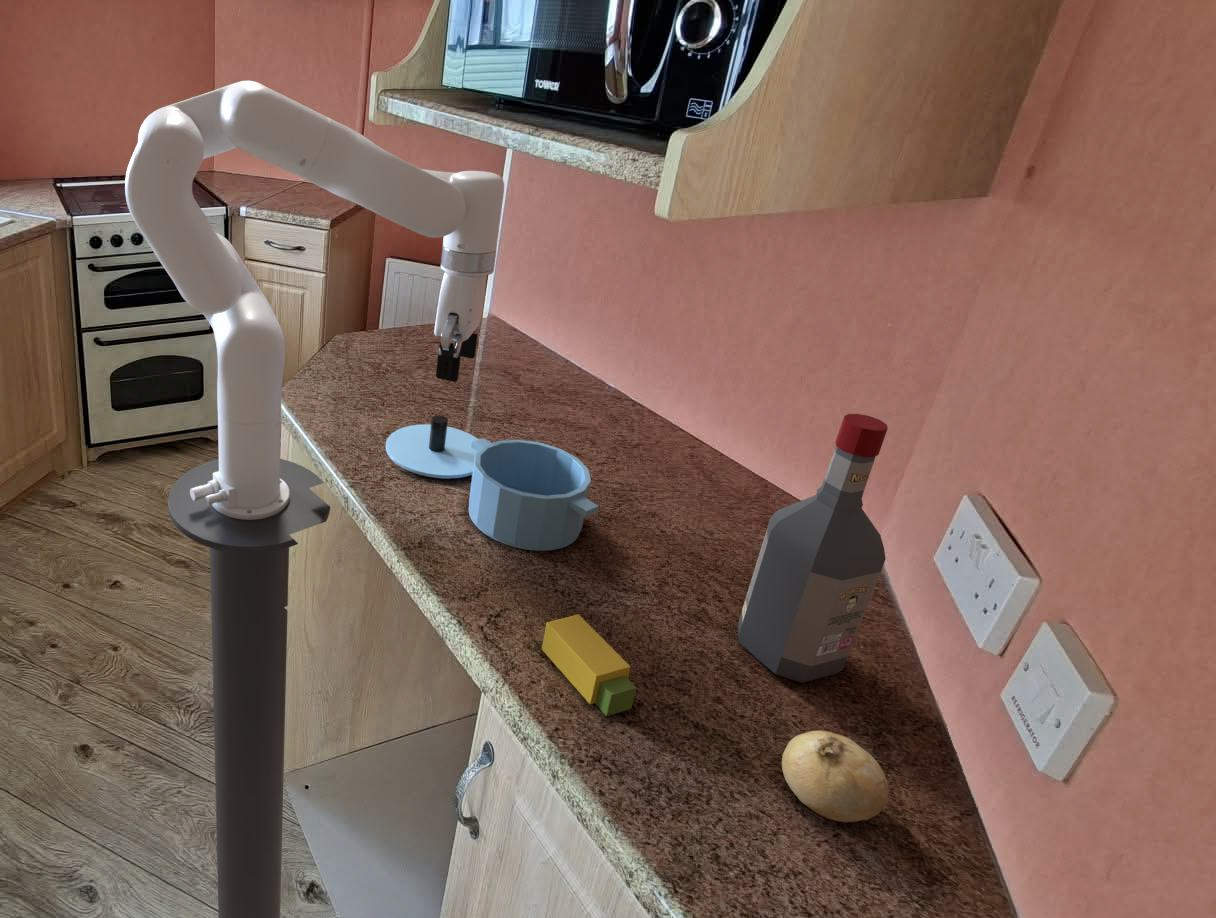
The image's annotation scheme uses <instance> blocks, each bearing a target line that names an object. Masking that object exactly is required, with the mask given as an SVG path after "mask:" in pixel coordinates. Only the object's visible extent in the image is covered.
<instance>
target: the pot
mask: <svg viewBox="0 0 1216 918" xmlns="http://www.w3.org/2000/svg"><path fill="white" fill-rule="evenodd" d="M478 439H479V440H476V441H473V442H472V445H471V447H472V448H473V449H475V450H476V451H478V452H477V453H476V454H475V459H474V467H473V474H472V475H471V484H470V491H469V498H468V514H469V518H470V520H471V521H472V523H473V524H474V525H475V527H476V528H477V529H478V530H479V531H481V533H483V534H485V535H486V536H488V537H489V538H491V539H492V540H495V541H497V542H499V543H501V544H503V545H506V546H509V547H512V548H516V549H522V550H527V551H534V552H535V551H536V552H537V551H539V552H543V551H544V552H547V551H556V550H559V549H563V548H565V547H567V546H569V545H571V544H573V543H574V542H576V540H577V539H578V538H579V535H580V533H581V531H582V529H583V524H584V519H585V518H588V517H590V516H592V515H594V514H597V513H598V512H599V507H600V506H599V505H598V504H596V503H595V502H593V501H591V500H590V499H589V494H590V490H591V485H592V479H591V478H592V477H591V473H590V470H589V468H588V467H587V466H586V465H585V464H584V463H583V461H581V460H580V459H579V457H576V456H574V455H573V454H571V453H569V452H567V451H566V450H564V449H562V448H559V447H557V446H553V445H550V444H546V443H544V442H540V441H532V440H523V439H508V440H507V439H506V440H505V439H504V440H497V441H494V442H491V441H489V440H488V439H486V438H484V437H482V438H478Z"/></svg>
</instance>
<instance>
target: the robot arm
mask: <svg viewBox="0 0 1216 918" xmlns="http://www.w3.org/2000/svg"><path fill="white" fill-rule="evenodd" d="M237 148H238V149H239V150H241V151H243V152H245V153H247V154H250V155H252V156H253V157H255V158H258V159H259V160H261V161H264V162H266V163H268V164H270V165H272V166H275V167H277V168H280V169H282V170H284V171H286V172H289V173H291V174H293V175H295V176H297V177H299V178H301V179H303V180H305V181H307V182H309V183H311V184H313V185H315V186H318V187H319V188H321V189H324V190H326V191H327V192H329V193H331V194H333V195H335V196H336V197H340V198H342V199H344V200H347V201H348V202H349V201H350V202H352V203H354V204H356V205H358V206H360V207H362V208H364V209H367V210H369V211H371V212H373V213H375V214H377V215H378V216H380V217H383V218H385V219H387V220H389V221H391V222H392V223H395V224H397V225H398V226H402V227H403V228H405V229H408V230H410V231H412V232H414V233H417V234H419V235H422V236H423V237H427V238H433V239H437V238H442V237H443V238H442V239H443V240H442V248H441V259H440V269H441V270H442V271H444V273H443V277H442V281H441V286H440V290H439V295H438V302H437V308H436V316H435V323H434V329H433V334H434V336H435V337H438V338H439V337H440V343H439V345H438V351H437V360H436V361H437V362H436V370H435V378H436V379H440V380H444V381H447V382H448V381H449V382H453V383H456V382H458V380H459V375H460V368H461V367H460V366H461V360H462V359H461V358H468V359H474V358H475V356H476V351H477V345H478V344H477V342H478V335H479V334H478V331H479V325H480V323H481V321H482V317H483V311H484V306H485V305H484V304H485V296H486V288H487V287H486V286H487V279H488V276H490V275H492V274H493V273H494V271H495V267H496V266H495V264H496V257H497V249H498V241H499V232H500V225H501V218H502V211H503V202H504V196H505V195H504V194H505V182H504V178H503V177H502V176H500V174H497V173H494V172H490V171H485V170H484V171H483V170H463V171H458V172H449V171H439V170H432V169H425V168H419V167H418V166H415V165H414V164H412V163H409V162H407V161H406V160H404V159H402V158H400V157H398V156H396V155H394V154H393V153H391V152H389V151H387V150H385V149H384V148H382V147H380V146H379V145H377V143H376V144H375V142H373V141H372V140H370V139H369V138H367V137H366V136H364V135H363V134H361V133H359V132H358V131H356V130H354V129H353V128H351V127H349V126H347V125H344V124H342V123H341V122H338V121H336V120H334V119H332V118H330V117H329V116H326V115H324V114H322V113H320V112H318V111H315V110H314V109H311V108H310V107H308V106H306V105H303V104H302V103H300V102H298V101H296V100H294V99H292V98H290V97H288V96H286V95H284V94H282V93H280V92H277V91H276V90H274V89H271V88H269V87H268V86H266V85H264V84H262V83H260V82H258V81H253V80H240V81H237V82H234V83H230V84H228V85H225V86H223V87H219V88H217V89H214V90H211V91H209V92H206V93H202V94H199V95H196V96H192V97H190V98H186V99H184V100H181V101H178V102H175V103H172V104H169V105H165V106H163V107H160V108H157V109H156V110H155V111H152V112H151V113H150V114H149V115H147V117H146V118H145V119H144V120H143V122H142V123H141V125H140V128H139V131H138V136H137V144H136V145H135V147H134V151H133V153H132V155H131V158H130V161H129V163H128V165H127V169H126V173H125V178H124V179H125V181H124V184H125V185H124V193H125V194H124V195H125V201H126V205H127V208H128V211H129V213H130V215H131V217H132V220H133V221H134V223H135V225H136V226H137V229H138V230H139V232H140V233H141V235H142V236H143V238H144V239H145V241H146V242H147V244H148V246H149V247H150V248H151V250H152V251H153V253H154V255H155V257H156V258H157V260H158V261H159V262H160V264H161V266H162V267H163V269H164V270H165V271H166V273H167V274H168V276H169V277H170V279H171V280H172V282H173V284H174V286H175V287H176V289H177V290H178V291H177V292H179V294H180V297H182V299H183V300H184V301H185V302H186V303H187V304H188V305H189V306H190V307H192V308H193V309H195V310H196V311H199V312H200V313H202V315H203V316H204V318H205V319H206V321H207V322H208V323H209V325H210V326H211V328H212V331H213V337H214V340H215V346H216V355H217V384H216V385H217V387H216V388H217V389H216V392H217V393H216V394H217V395H216V397H217V398H216V399H217V400H216V401H217V438H218V439H217V440H218V441H217V442H218V444H217V445H218V459H219V471H218V472H215V473H213V480H211V481H209V482H208V484H206V485H203V486H198V487H195V488H192V489H190V495H191V498H192V500H193V501H195V500H199V499H202V498H205V501H206V503H207V505H210V504H212V506H213V507H214V508H215V509H216V510H217V511H219V512H220V513H222V514H224V515H226V516H228V517H232V518H235V519H242V520H257V519H263V518H267V517H270V516H273V515H275V514H277V513H279V512H280V511H282V510H283V509H284V508H285V507H286V506H287V504H288V502H289V498H290V491H289V488H288V485H287V484H286V483H285V482H284V481H283V480H282V479H281V478H280V459H281V448H282V447H281V446H282V442H281V441H282V394H283V393H282V391H283V379H284V378H283V377H284V370H285V363H286V342H285V337H284V336H285V335H284V333H283V330H282V327H281V325H280V323H279V320H278V318H277V316H276V314H275V313H274V310H273V308H272V306H271V304H270V302H269V301H268V299H267V297H266V296H265V294H264V292H263V291H262V290H261V288H260V287H259V285H258V283H257V282H256V280H255V278H254V277H253V275H252V274H251V272H250V271H249V269H248V267H247V266H246V264H245V263H244V262H243V260H242V258H241V256H240V255H239V254H238V252H237V250H236V248H235V247H234V246H233V244H232V243H231V241H229V239H227V238H226V237H224V236H223V235H222V234H220V233H219V232H216V231H215V229H214V228H213V226H212V225H211V223H210V222H209V219H208V218H207V216H206V213H205V212H204V211H203V210H202V208H201V206H200V205H199V204H198V202H197V200H196V199H195V196H194V194H193V182H194V179H195V177H196V175H197V173H198V171H199V170H200V168H201V166H202V164H203V161H204V160H205V159H209V158H212V157H214V156H217V155H222V154H223V153H227V152H229V151H233V150H235V149H237Z"/></svg>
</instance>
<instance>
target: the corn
mask: <svg viewBox="0 0 1216 918" xmlns="http://www.w3.org/2000/svg"><path fill="white" fill-rule="evenodd" d="M541 650H542V652H543V653H544V654H545V655H546V656H547V657H548V658H549V660H550V661H551V662H552V663H553V664H554V665H555V666H556V668H558V670H559V671H560V672H561V673H562V674H563V676H564V677H565V678H566V679H567V680H568V681H569V682H570V683H571V685H572V686H573V688H575V689H576V690H577V692H579V694H580V695H581V696H582V698H584V699H585V700H586V702H587V703H588V705H593V704H595V705H596V706H597V707H598V709H599V710H600V712H602V713H603V714H604V716H605V717H609V716H612V715H616V714H618V713H619V714H620V713H622V712H625V711H626V712H627V711H628V710H631V709H632V707H633V703H634V701H635V695H636V691H637V687H636V686H635V685H634V684H633V683H632V682H631V680H629V674H630V671H631V665H630V664H629V663H628V662H627V661H626V660H624V658H622V656H621V655H620V654H619V653H618V652H617V651H616V650H615V649H613V647H612V646H611V645H610V644H609V642H607V640H605V639H604V638H603V637H602V636H601V635H600V634H599V633H598V632H597V630H595V629H594V628H593V627H592V626H591V625H590V624H589V623H588V622H587V621H586V619H584V618H583V617H582V616H581V615H580V614H579V613H578V614H574V615H571V616H567V617H561V618H559V619H553V620H551V621H547V622H546V623H545V629H544V633H543V638H542V644H541Z"/></svg>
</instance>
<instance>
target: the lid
mask: <svg viewBox="0 0 1216 918" xmlns="http://www.w3.org/2000/svg"><path fill="white" fill-rule="evenodd" d="M430 421H431V424H428V423H427V424H425V423H424V424H412V425H408V426H404V427H402V428H399V429H396V430H395V431H393V432H392V433H390V434H389V436H388V437H387V439H386V441H385V452H386V454H387V456H388V457H389V459H390V460H391V461H392V462H393V463H394V464H396V465H397V466H399V467H401V468H402V469H404V470H405V471H408V472H411V473H413V474H416V475H419V476H424V477H429V478H433V479H434V478H435V479H461V478H466V477H470V476H472V474H473V467H474V459H475V454H476V453H477V452H478V451H476V450H475V449H473V448H472V447H471V445H472V442H473V441H476V440H479V439H480V438H477V437H476V436H475V435H472V434H470V433H469V432H467V431H465V430H461V429H460V428H459V429H458V428H455V427H451V426H448V424H449V419H448V418H447V417H446V416H445V415H437V414H435V415H433V416H432V417H431V420H430Z"/></svg>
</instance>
